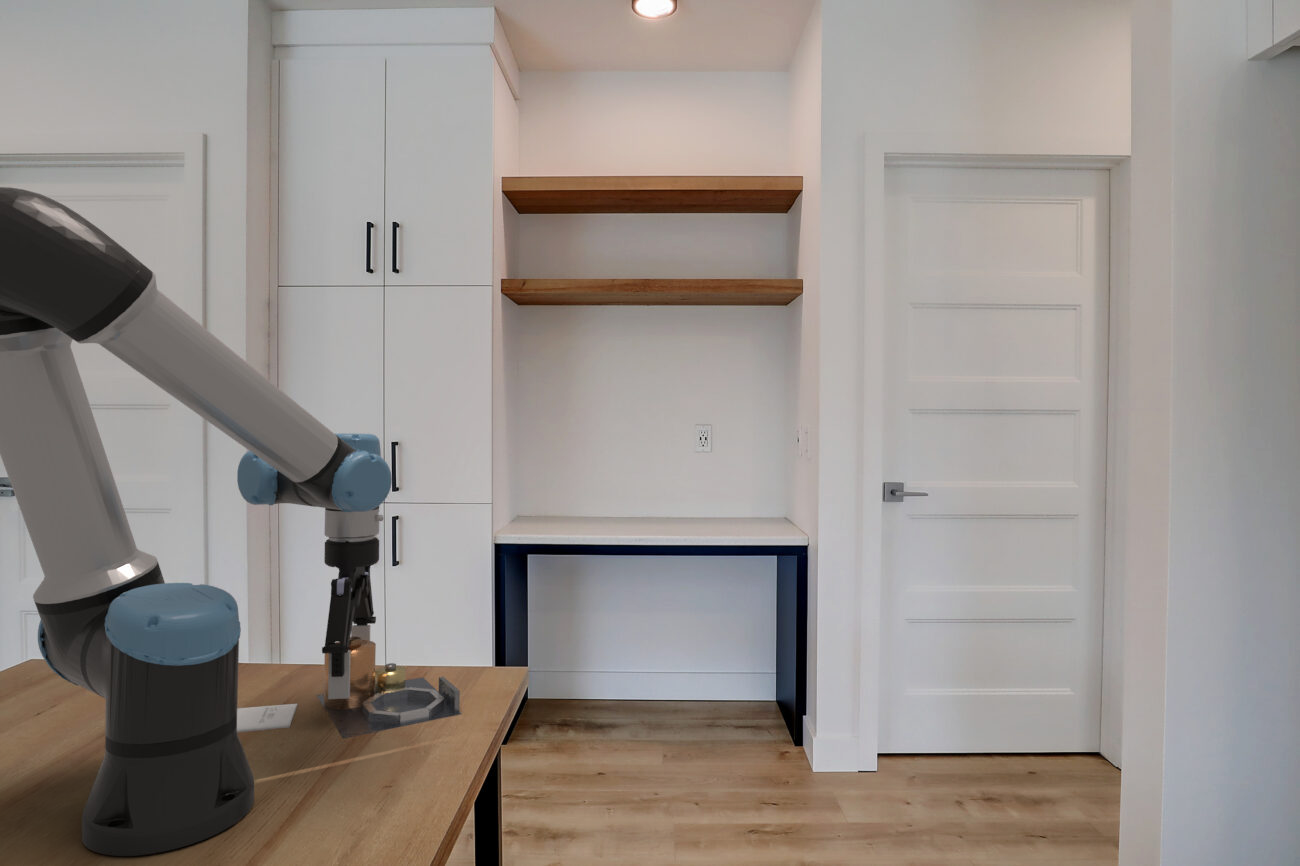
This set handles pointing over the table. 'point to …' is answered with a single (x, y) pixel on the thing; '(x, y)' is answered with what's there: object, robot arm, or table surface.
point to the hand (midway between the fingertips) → (350, 681)
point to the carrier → (396, 704)
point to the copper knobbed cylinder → (355, 675)
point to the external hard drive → (265, 717)
